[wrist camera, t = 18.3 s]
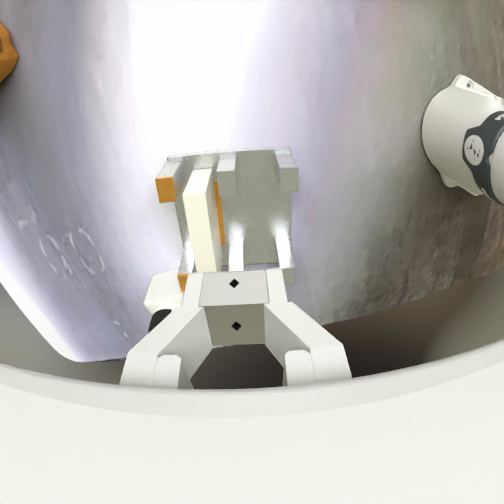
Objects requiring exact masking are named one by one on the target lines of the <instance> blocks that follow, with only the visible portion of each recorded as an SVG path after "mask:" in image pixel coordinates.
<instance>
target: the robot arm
mask: <svg viewBox="0 0 504 504" xmlns="http://www.w3.org/2000/svg"><path fill="white" fill-rule="evenodd" d="M467 84H468V87H467ZM422 140H423V146H424V149H425V152H426V154H427V156H428V158H429V160H430V161H431V163H432V164H433V165H434V166H435V167H436V168H437V169H438V170H439V172H440V175H441V178H442V181H443V183H444V184H445V185H446V186H448V187H456V186H460V187H462V188H463V189H465V190H467V191H468V192H470V193H471V194H473V195H475V196H478V195H482V194H485V195H486V196H487V197H488V198H490V199H491V200H493V201H494V202H496V203H498V204H500V205H502V206H504V99H503V98H500V97H497V96H495V95H494V94H492V93H491V92H490V91H488V90H487V89H485V88H483V87H482V86H480V85H479V84H477V83H476V82H474V81H472V80H471V79H469V78H468V77H466V76H463V75H457V76H456V77H455V79H454V80H453V82H452V83H451V85H450V86H449V87H447V88H446V89H444V90H442V91H441V92H439V93H438V94H437V95H436V96H435V97H434V98H433V99H432V100H431V102H430V103H429V105H428V107H427V109H426V112H425V115H424V118H423V124H422ZM236 344H265V345H266V346H267V348H268V349H269V350H270V351H271V352H272V354H273V355H274V356H275V357H276V359H277V360H278V361H279V362H280V364H281V365H282V366H283V367H284V373H283V387H271V388H254V389H221V390H198V389H196V390H195V389H193V386H192V384H191V382H190V378H191V377H192V375H193V374H194V373H195V371H196V370H197V369H198V367H199V366H200V365H201V363H202V362H203V361H204V359H205V358H206V356H207V355H208V354H209V352H210V351H211V350H212V348H213V346H220V345H236ZM0 504H504V339H502V340H499V341H496V342H494V343H491V344H488V345H485V346H482V347H479V348H476V349H473V350H470V351H467V352H464V353H461V354H457V355H454V356H450V357H447V358H443V359H440V360H436V361H432V362H428V363H424V364H420V365H416V366H412V367H408V368H403V369H399V370H394V371H389V372H384V373H379V374H374V375H368V376H363V377H357V378H352V376H351V372H350V369H349V365H348V361H347V358H346V354H345V351H344V347H343V344H342V343H340V342H339V341H338V340H337V339H336V338H334V337H333V336H332V335H331V334H330V333H328V332H327V331H326V330H325V329H324V328H323V327H321V326H320V325H319V324H318V323H317V322H316V321H314V320H313V319H312V318H311V317H310V316H308V315H307V314H306V313H305V312H304V311H302V310H301V309H300V308H299V307H298V306H297V305H295V304H294V303H293V302H288V301H287V295H286V289H285V283H284V277H283V272H282V269H281V267H280V268H269V269H266V270H265V269H262V270H246V271H219V272H193V273H189V275H188V277H187V281H186V286H185V291H184V296H183V300H182V305H181V307H177V308H176V309H175V310H173V311H172V312H171V313H170V314H169V315H168V316H167V317H166V318H165V319H164V320H163V321H161V322H160V323H159V324H158V325H157V326H156V327H155V328H154V329H153V330H152V331H151V332H150V333H148V334H147V335H146V336H145V337H144V338H143V339H142V340H141V341H140V342H139V343H138V344H137V345H135V346H134V347H133V348H132V349H131V350H130V351H129V352H128V355H127V358H126V362H125V365H124V369H123V373H122V376H121V380H120V384H119V385H114V384H105V383H98V382H90V381H83V380H76V379H71V378H65V377H59V376H53V375H49V374H44V373H39V372H34V371H30V370H25V369H21V368H17V367H13V366H9V365H5V364H2V363H0Z"/></svg>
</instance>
